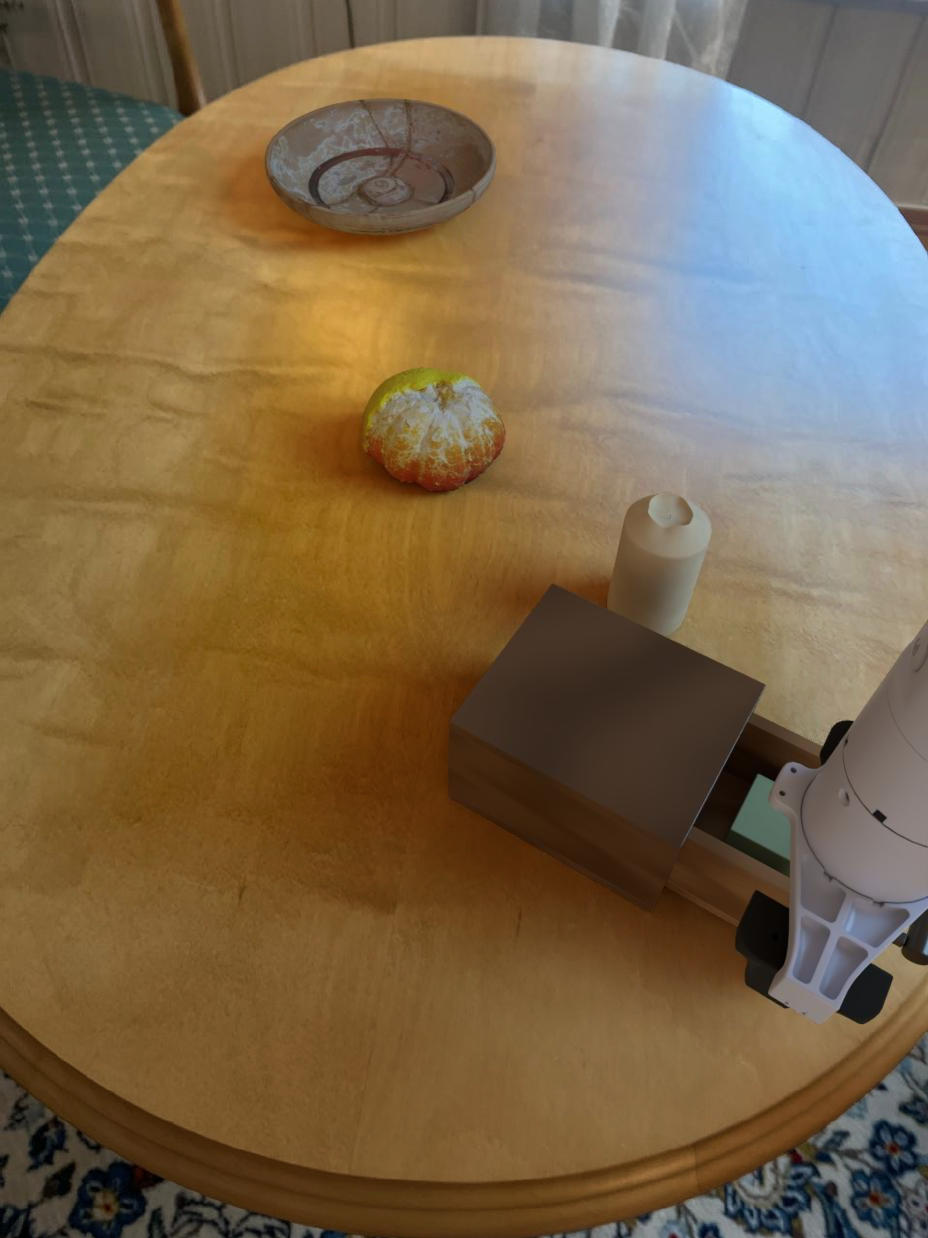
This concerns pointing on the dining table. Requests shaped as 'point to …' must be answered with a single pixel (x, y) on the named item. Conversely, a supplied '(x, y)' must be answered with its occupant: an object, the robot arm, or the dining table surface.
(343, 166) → the ceramic bowl
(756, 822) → the block
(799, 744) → the drawer
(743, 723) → the cabinet
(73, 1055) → the dining table surface
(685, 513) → the beige bottle
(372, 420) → the fruit
